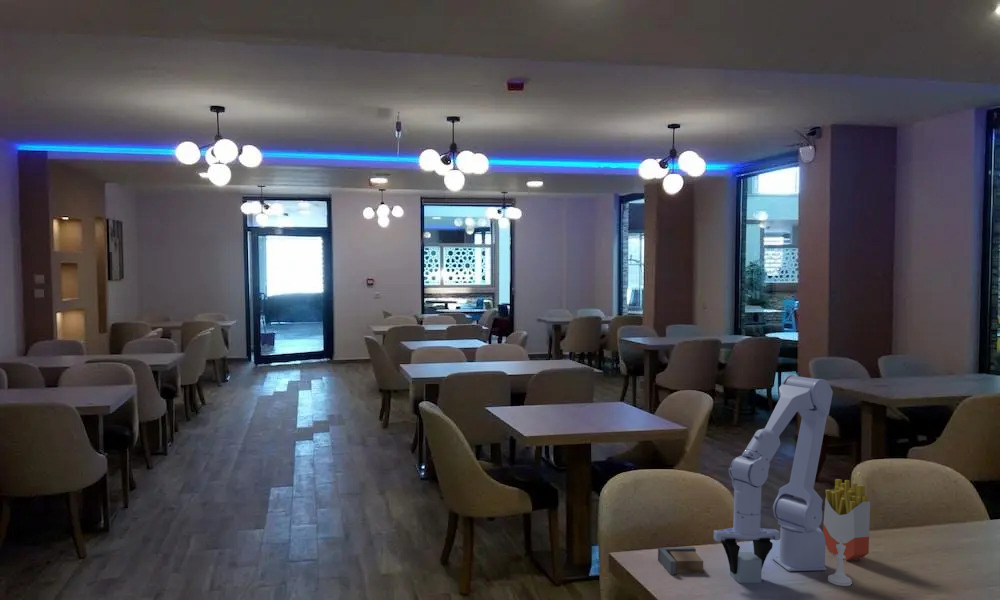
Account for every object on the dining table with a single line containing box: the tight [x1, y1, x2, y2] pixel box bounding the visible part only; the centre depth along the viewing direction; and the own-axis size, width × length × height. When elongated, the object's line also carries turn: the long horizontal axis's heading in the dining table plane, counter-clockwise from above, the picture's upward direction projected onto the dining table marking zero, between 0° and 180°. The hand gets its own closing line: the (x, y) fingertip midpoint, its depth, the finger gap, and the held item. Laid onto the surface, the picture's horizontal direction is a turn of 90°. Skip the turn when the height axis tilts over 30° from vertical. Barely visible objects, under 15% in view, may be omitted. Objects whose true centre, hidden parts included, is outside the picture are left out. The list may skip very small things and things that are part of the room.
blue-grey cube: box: [729, 551, 763, 584], centre depth 168 cm, size 5×5×5 cm
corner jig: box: [657, 546, 697, 576], centre depth 174 cm, size 9×9×3 cm
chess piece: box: [827, 537, 853, 587], centre depth 167 cm, size 5×5×10 cm
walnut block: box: [670, 551, 704, 574], centre depth 173 cm, size 6×6×3 cm
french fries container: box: [822, 478, 871, 561], centre depth 183 cm, size 5×11×18 cm, turn 15°
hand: (745, 572), depth 168 cm, fingers closed on blue-grey cube, 5 cm apart
